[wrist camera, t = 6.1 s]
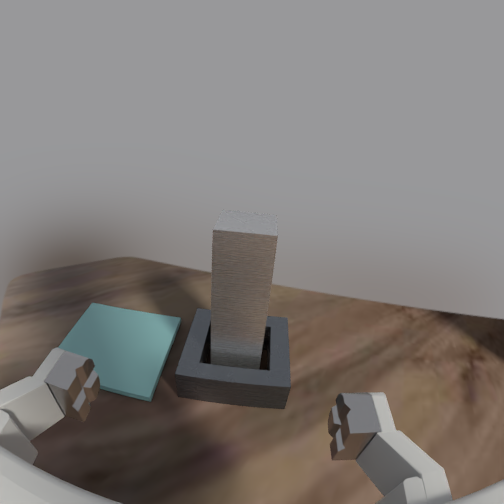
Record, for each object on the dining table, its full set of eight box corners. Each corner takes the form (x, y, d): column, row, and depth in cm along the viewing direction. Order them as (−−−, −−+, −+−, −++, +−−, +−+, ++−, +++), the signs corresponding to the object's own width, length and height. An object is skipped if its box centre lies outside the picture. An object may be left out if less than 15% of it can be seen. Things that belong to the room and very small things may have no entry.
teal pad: (181, 322, 32) (180, 317, 32) (150, 401, 22) (149, 397, 22) (93, 306, 32) (92, 302, 32) (46, 370, 22) (44, 366, 22)
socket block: (282, 340, 31) (287, 317, 29) (284, 409, 23) (290, 387, 21) (198, 331, 31) (197, 308, 29) (178, 396, 23) (175, 373, 22)
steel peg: (258, 354, 28) (276, 215, 22) (256, 385, 25) (277, 235, 19) (217, 350, 29) (222, 209, 22) (211, 380, 25) (213, 229, 19)
